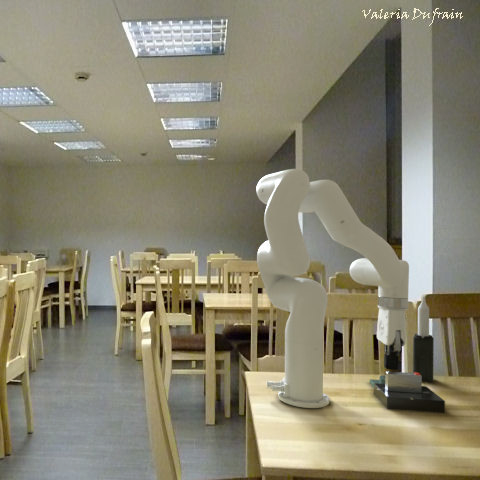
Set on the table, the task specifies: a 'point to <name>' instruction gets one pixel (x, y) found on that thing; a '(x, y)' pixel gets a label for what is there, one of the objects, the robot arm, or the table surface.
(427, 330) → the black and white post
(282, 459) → the table surface
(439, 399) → the panel
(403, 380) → the grey rectangular block
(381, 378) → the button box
